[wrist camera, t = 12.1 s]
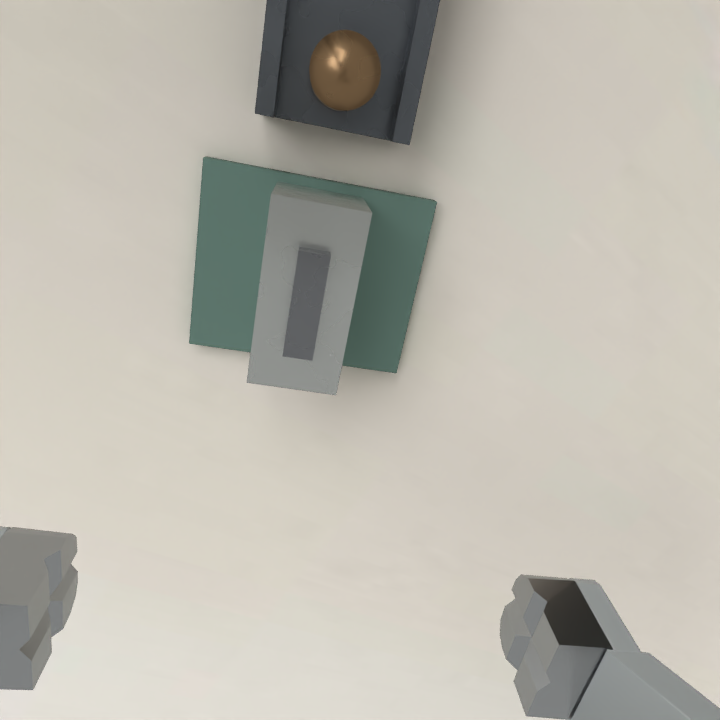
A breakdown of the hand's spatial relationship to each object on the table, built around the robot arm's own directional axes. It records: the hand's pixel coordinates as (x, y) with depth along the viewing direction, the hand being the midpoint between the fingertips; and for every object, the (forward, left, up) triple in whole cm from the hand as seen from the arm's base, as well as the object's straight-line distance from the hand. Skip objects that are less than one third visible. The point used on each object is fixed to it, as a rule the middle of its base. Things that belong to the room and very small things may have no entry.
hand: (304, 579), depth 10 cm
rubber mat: (0, 0, -23) cm, 23 cm away
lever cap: (0, 0, -22) cm, 22 cm away
